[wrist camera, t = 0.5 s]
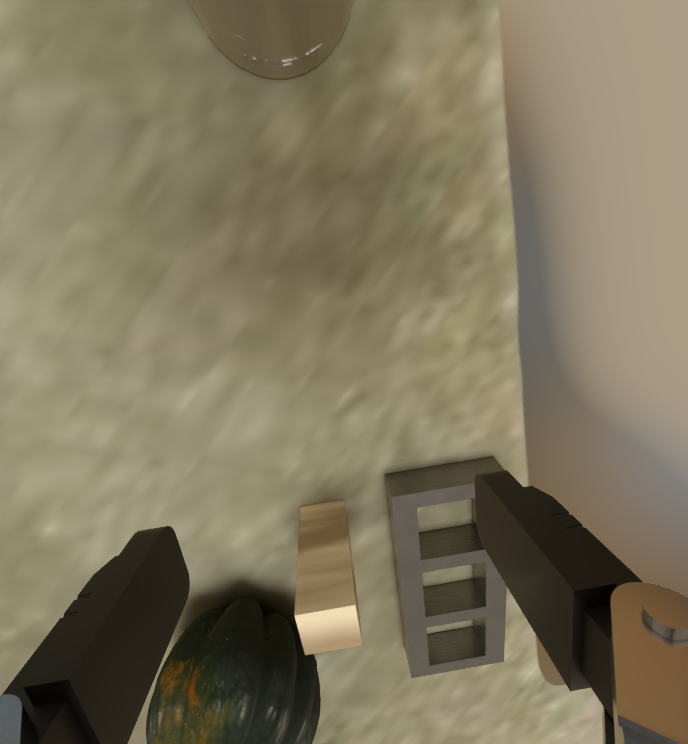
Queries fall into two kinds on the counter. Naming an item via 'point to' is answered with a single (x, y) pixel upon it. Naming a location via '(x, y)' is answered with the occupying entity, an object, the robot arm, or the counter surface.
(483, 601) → the gray slotted tray
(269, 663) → the squash
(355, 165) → the counter surface
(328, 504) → the square peg
